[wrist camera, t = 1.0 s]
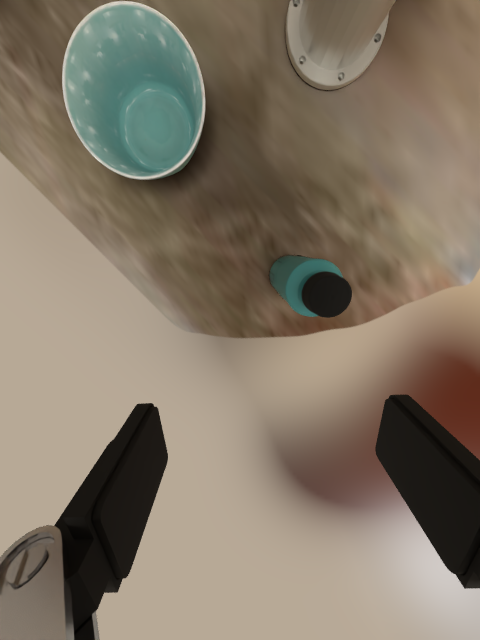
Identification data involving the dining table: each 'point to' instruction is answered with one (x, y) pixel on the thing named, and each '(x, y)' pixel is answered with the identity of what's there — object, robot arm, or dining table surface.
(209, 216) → the dining table surface
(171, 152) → the bowl
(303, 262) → the beverage bottle
